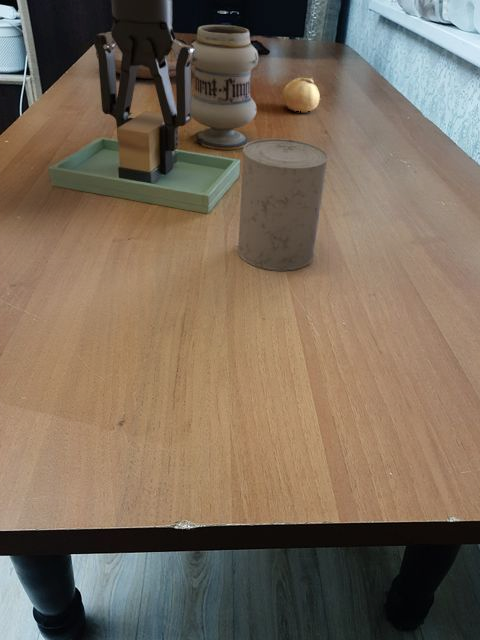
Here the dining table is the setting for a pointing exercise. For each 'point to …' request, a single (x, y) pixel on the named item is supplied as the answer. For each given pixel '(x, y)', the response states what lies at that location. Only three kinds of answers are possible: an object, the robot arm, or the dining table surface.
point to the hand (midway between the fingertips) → (148, 168)
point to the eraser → (141, 148)
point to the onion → (301, 95)
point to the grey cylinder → (280, 203)
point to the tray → (168, 190)
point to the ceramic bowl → (142, 70)
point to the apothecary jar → (223, 85)
